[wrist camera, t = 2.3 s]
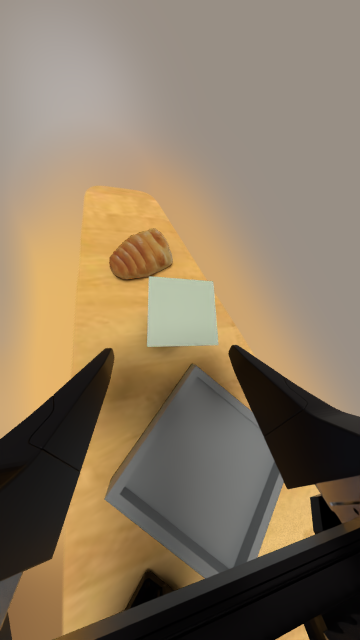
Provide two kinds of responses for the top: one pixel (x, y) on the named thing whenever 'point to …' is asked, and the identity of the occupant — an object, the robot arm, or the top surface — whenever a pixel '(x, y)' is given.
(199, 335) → the block
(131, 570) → the top surface
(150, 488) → the tray
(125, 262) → the pastry
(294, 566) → the robot arm
